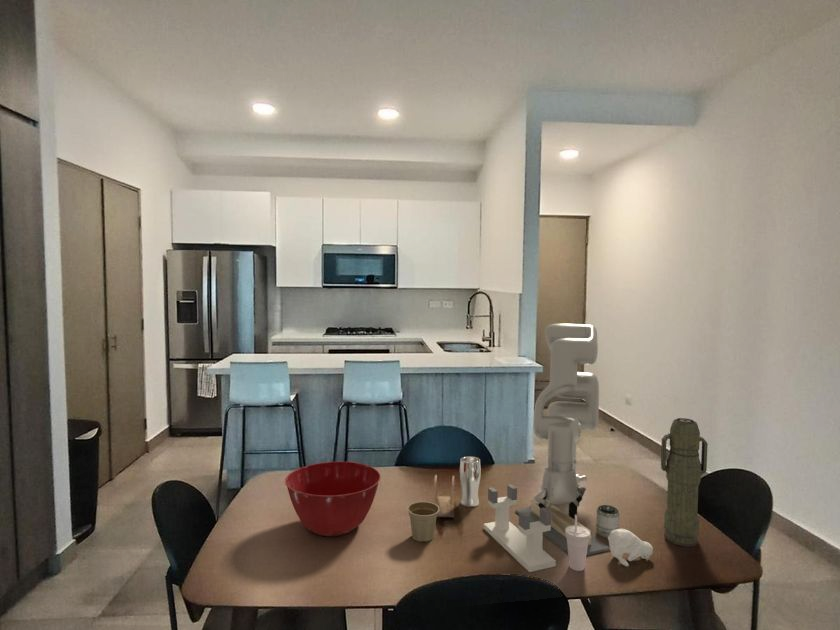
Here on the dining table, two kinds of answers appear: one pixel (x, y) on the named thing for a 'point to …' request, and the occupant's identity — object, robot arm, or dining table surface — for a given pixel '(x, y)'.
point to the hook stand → (519, 531)
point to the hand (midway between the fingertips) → (559, 520)
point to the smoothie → (577, 545)
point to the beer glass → (470, 480)
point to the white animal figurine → (628, 546)
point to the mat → (562, 540)
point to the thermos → (683, 481)
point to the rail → (557, 518)
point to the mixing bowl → (332, 495)
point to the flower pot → (423, 520)
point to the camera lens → (607, 520)
